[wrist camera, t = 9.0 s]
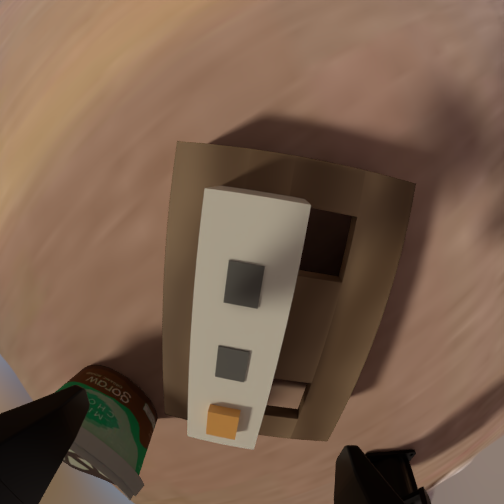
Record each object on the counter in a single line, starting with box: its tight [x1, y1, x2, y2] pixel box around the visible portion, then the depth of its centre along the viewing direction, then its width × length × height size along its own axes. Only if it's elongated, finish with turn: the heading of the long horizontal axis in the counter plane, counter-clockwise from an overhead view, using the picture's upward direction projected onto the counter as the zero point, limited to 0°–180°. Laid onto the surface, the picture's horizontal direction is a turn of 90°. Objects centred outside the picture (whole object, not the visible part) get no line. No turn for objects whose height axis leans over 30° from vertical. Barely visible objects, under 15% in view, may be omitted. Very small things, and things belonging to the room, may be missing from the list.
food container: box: [56, 365, 157, 500], centre depth 18 cm, size 12×6×10 cm, turn 81°
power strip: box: [187, 186, 311, 450], centre depth 15 cm, size 4×14×7 cm, turn 172°
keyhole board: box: [162, 141, 416, 441], centre depth 17 cm, size 12×18×4 cm, turn 172°
